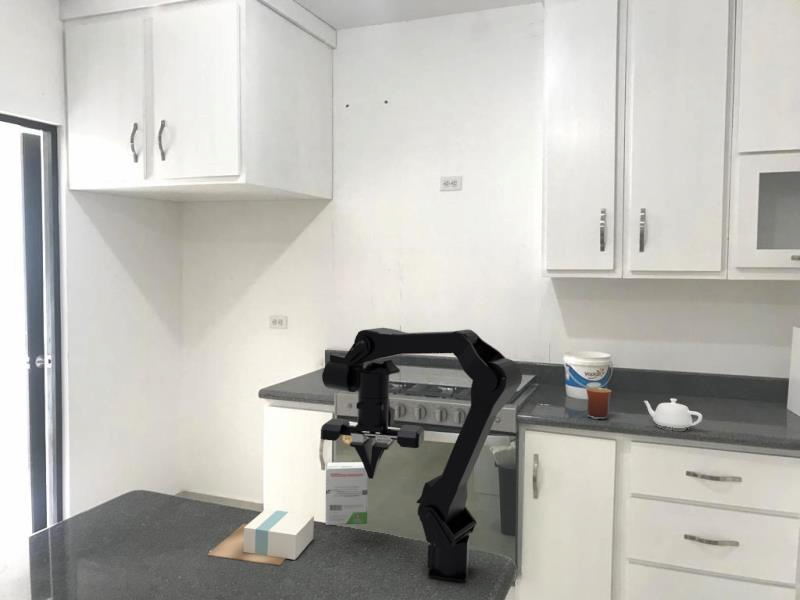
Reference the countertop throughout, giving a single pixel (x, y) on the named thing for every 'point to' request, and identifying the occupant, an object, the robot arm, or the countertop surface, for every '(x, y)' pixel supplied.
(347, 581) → the countertop surface
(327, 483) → the ink box
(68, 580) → the countertop surface
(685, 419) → the teapot
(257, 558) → the board
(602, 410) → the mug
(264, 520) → the carton
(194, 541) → the countertop surface
